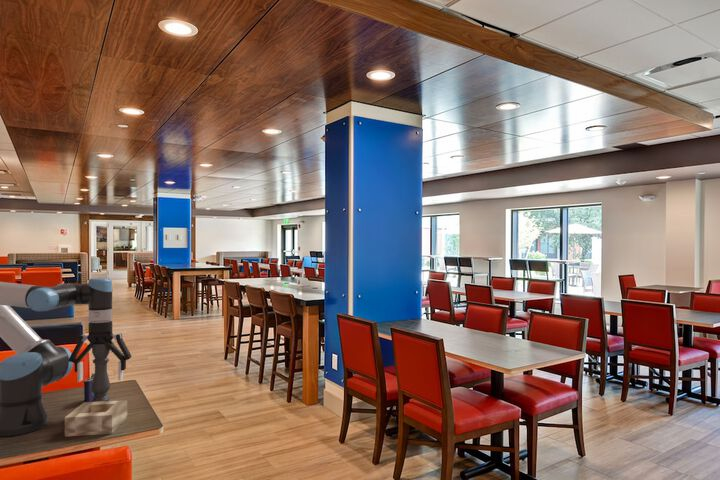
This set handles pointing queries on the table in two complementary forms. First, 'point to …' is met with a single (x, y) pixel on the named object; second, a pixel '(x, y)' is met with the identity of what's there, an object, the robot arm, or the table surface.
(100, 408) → the socket block
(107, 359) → the candle holder
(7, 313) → the robot arm
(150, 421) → the table surface
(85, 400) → the flask
